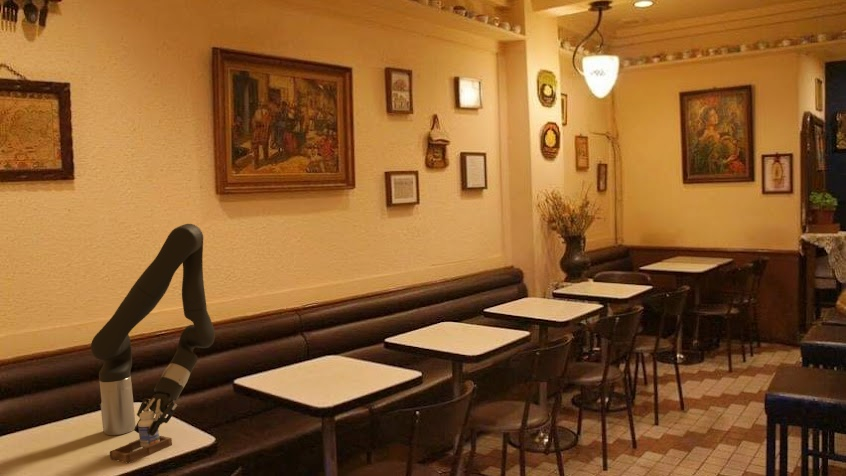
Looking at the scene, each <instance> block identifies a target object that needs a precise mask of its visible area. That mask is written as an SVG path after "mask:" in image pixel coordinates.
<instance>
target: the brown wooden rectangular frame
mask: <svg viewBox="0 0 846 476" xmlns="http://www.w3.org/2000/svg"><path fill="white" fill-rule="evenodd" d="M159 439H160V442H157V443H155V444H152V445H150V446H148V447H144V448H143V447H141V445H140V438H138V439H136V440H134V441H131V442H129V443H127V444H125V445H122V446H120V447H117V448H115V449H112V450H110V451H109V458H110V460H113V459H114V460H113V461H117V460H119V461H118V462H121V461H123V463H126V462H127V463H126V464H130V463H132V462H135V461H137V460H139V459H143V458H144V457H147V456H150V455H152V454H154V453H157V452H159V451H162V450H164V449H166V448H168V447H171V446H172V445H173V441H172V440H173V438H172V437H168V436H164V435H163V436H162V435H159ZM129 462H130V463H129Z"/></svg>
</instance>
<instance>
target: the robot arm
mask: <svg viewBox="0 0 846 476" xmlns="http://www.w3.org/2000/svg"><path fill="white" fill-rule="evenodd" d="M203 254H204V234H203V231H202V230H201V228H200V227H198V226H197V225H195V224H193V223H185V224H181V225H180V226H177V227H175V228H173V230H171V231H170V232H169V234H168V235H167V238H166V239H165V241H164V243H163V245H162V247H161V248H160V250H159V251H158V254H157V255H156V256H155V258H154V260H153V261H152V262H151V263H150V264H149V265H148V266H147V267H146V268H145V270H144V271H143V272H142V274H141V275H140V276H139V277H138V279H137V280H136V281H135V283H134V284H133V285H132V286H131V289H130V290H129V291H128V293H127V294H126V296H125V297H124V299H122V301H121V303H120V304H119V306H118V307H117V309H116V310H115V312H114V314H113V315H112V316H111V318H110V319H109V320H108V321H107V322H106V323H105V324H104V325H103V326H102V328H101V329H100V330H99V331H98V332H97V333H96V334H95V335H94V336H93V339H92V340H91V342H90V343H91V344H90V350H91V351H90V352H91V355H92V356H93V357H94V358H95V359H97V360H98V361H103V365H102V367H101V369H100V370H99V372H98V378H99V380H98V381H99V388H100V389H99V391H100V399H101V403H100V412H101V421H102V423H101V424H102V431H103V433H104V434H105V435H106V436H118V435H124V434H128V433H130V432H133V431H134V432H136V433H137V434H139V429H138V423H139V421H141V419H140V413H142V412H146V411H154V418H155V421H153V423H152V424H151V426H150V428H149V430H148V432H147V433H148V434H149V435H151V436H154V434H155V433H156V432H157V430H159V428H160V426H161V425H163V424H168V422H169V421H170V420H171V418H172V417H173V415H174V414H175V413H176V412H177V410H178V408H179V405H178V404H177V403H176V401H177V400H178V399H179V397H180V395H181V393H182V391H183V390H184V388H185V386H186V384H187V383H188V380H189V379H190V375H191V373H192V372H193V370H194V368H195V367H196V364H197V362H198V359H199V358H198V356H197V354H195V352H194V349H195V348H199V349H200V348H201V349H208V348H210V347H212V345H213V344H214V342H215V339H216V332H215V328H214V325H213V322H212V320H211V317H210V315H209V313H208V309H207V300H206V292H205V284H204V272H203V271H204V270H203V269H204V268H203V262H204V261H203V258H204V257H203V256H204V255H203ZM181 265H182V282H181V283H182V284H181V300H182V308H183V315H184V317H185V318H186V319H187V320H189V321H190V322H192V324H189V325H187V326H186V327H185V328H184V329H183V330H182V332H181V334H180V337H179V340H178V344H177V348H176V352H175V353H174V355H173V357H172V359H171V361H170V362H169V364H168V366H167V367H165V369H164V370H163V373H162V375H161V376H160V378H159V379H158V381H157V383H156V385H155V387H154V389H153V391H154V394H153V396H152V397H150V398H147V397H144V398H142V401H141V403H140V405H139V408H138V410H137V413H136V416H137V417H138V418H139V419H138V421H137V423H136V417H135V404H134V396H133V385H132V376H131V370H132V366H133V359H132V358H133V357H132V355H133V353H132V342H131V338H130V335H129V334H130V333H131V331H132V330H133V329H134V328H135V327H136V326H137V325H139V323H140V322H141V321H143V319H145V318H146V317H147V316H148V315H149V314H150V313H151V312H152V311H153V310H154V309H155V308H156V306H157V305H158V304H159V303H160V302H161V300H162V299H163V298H164V296H165V294H166V292H167V291H168V288H169V286H170V285H171V282H172V280H173V277H174V275H175V273H176V271H178V269H179V268H180V267H181Z"/></svg>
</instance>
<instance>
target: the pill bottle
mask: <svg viewBox="0 0 846 476" xmlns="http://www.w3.org/2000/svg"><path fill="white" fill-rule="evenodd" d="M139 419H141V421H139V420H138V421H139V423H138V422H137V423H138V429H139V433H138V435H139V439H140V445H141V447H140V448H144V447H148V446H150V445H152V444H155V443H157V442H160V439H159V436H160V432H159V431H160V430H159V429H158V430H157V432H156V433H155V434H154V436H151V435H149V434H148V433H147V432H148V430H149V428H150V426H151V424H152V423H153V421H155V415H154V411H151V410H149V411H146V412H144V411H142V413H140V418H139Z"/></svg>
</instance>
